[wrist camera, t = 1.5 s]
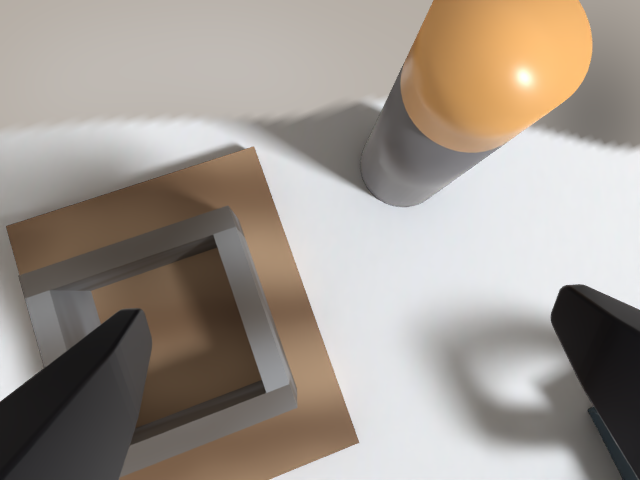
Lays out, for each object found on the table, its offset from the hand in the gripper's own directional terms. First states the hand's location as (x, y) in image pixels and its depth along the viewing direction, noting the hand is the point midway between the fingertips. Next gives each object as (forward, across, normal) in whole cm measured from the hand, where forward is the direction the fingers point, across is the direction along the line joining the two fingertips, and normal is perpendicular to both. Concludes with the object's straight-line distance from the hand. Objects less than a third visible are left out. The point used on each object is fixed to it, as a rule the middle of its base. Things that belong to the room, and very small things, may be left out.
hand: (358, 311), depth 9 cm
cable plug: (+15, -5, +2) cm, 16 cm away
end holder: (+10, +7, +9) cm, 15 cm away
